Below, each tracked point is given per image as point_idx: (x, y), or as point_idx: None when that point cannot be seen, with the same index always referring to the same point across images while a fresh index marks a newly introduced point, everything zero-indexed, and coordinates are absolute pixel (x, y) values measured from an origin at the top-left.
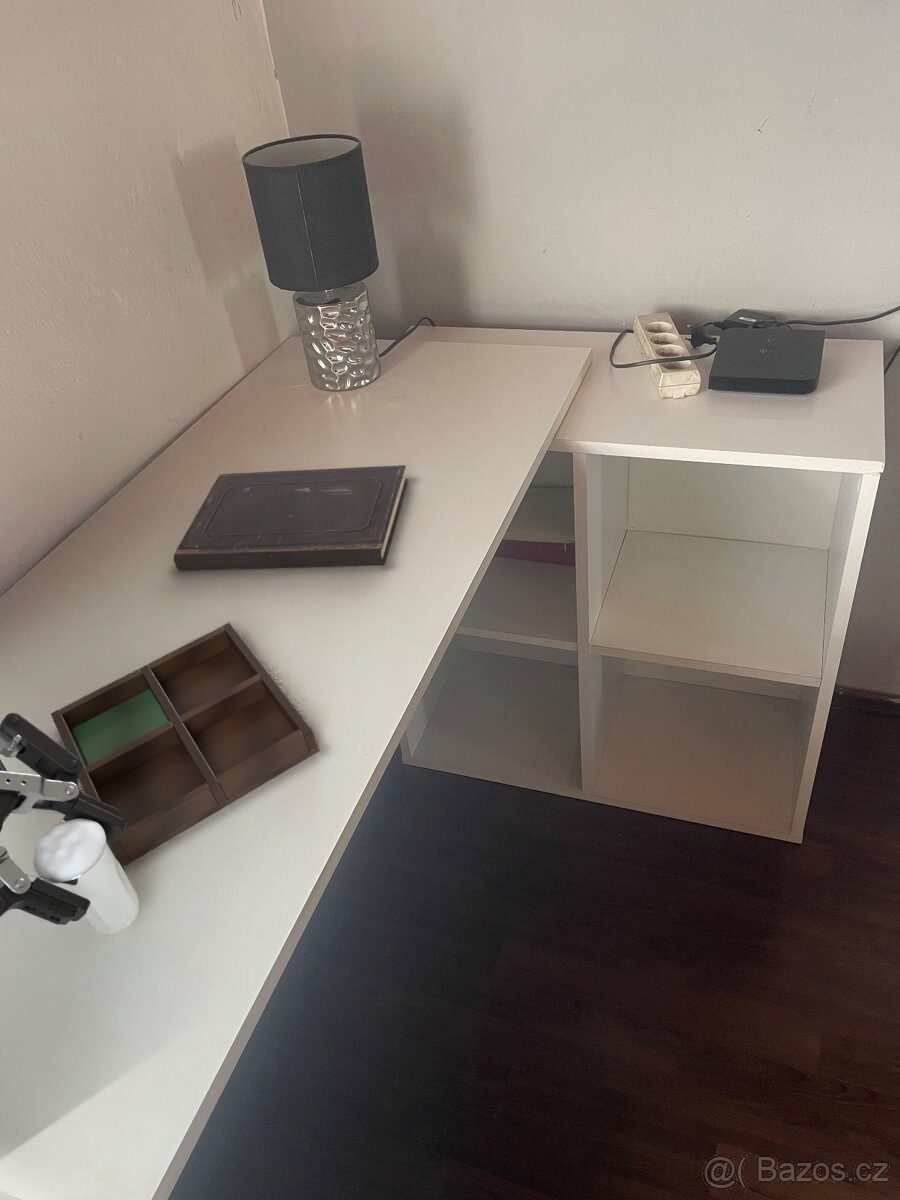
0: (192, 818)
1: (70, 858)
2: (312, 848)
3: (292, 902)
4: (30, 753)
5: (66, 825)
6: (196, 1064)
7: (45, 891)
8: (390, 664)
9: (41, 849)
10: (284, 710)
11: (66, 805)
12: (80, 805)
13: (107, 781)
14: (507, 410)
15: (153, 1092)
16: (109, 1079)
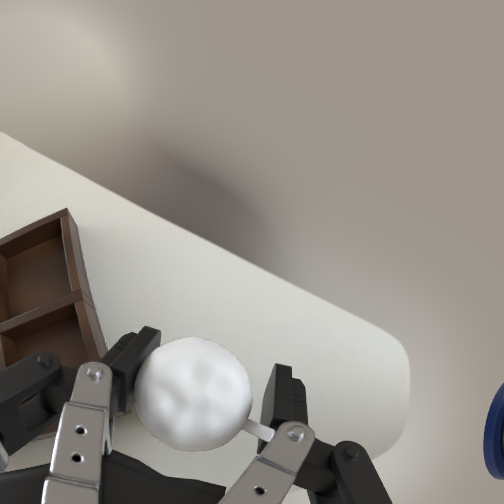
0: (100, 334)
1: (227, 377)
2: (169, 235)
3: (216, 253)
4: (7, 423)
5: (154, 393)
6: (341, 324)
7: (290, 403)
8: (35, 177)
9: (195, 432)
10: (34, 231)
11: (116, 390)
12: (123, 365)
13: None
14: None
15: (357, 355)
16: (345, 393)
